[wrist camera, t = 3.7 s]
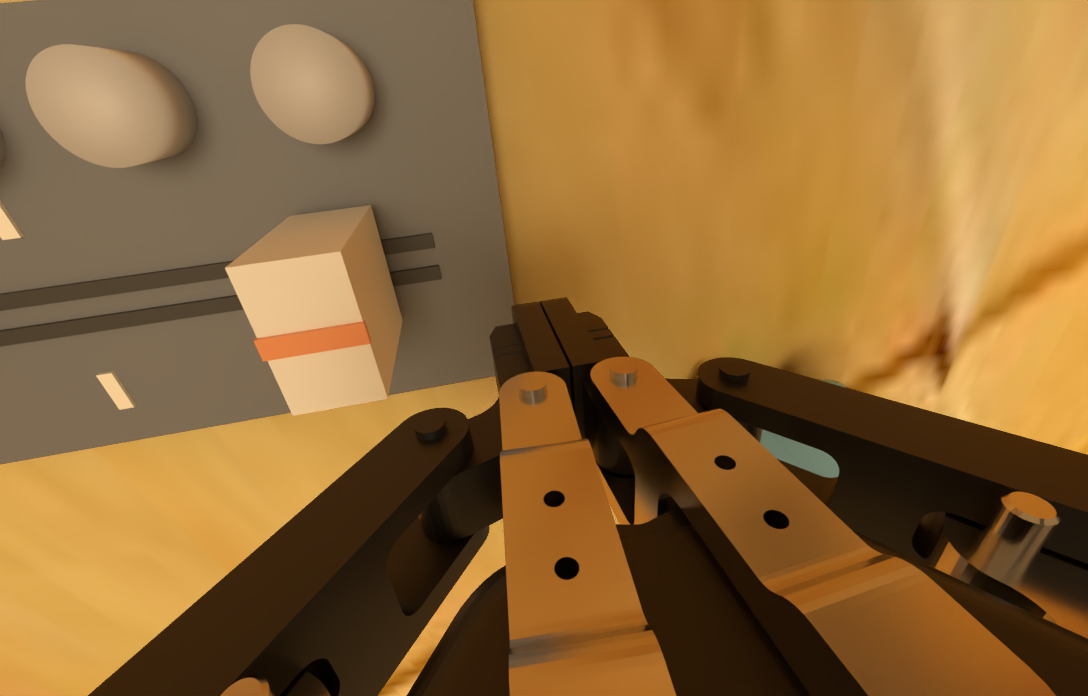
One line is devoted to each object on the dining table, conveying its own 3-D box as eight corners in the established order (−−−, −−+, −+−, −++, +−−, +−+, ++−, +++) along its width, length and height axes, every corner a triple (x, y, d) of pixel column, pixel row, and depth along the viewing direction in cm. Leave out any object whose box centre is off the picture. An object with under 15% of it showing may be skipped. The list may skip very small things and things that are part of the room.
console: (466, -21, 17) (471, -53, 13) (518, 351, 25) (530, 398, 21) (-344, 44, 14) (-629, 28, 10) (5, 440, 22) (-86, 512, 18)
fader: (372, 204, 18) (340, 252, 13) (403, 320, 20) (388, 401, 15) (288, 215, 18) (220, 269, 12) (331, 332, 20) (289, 419, 15)
